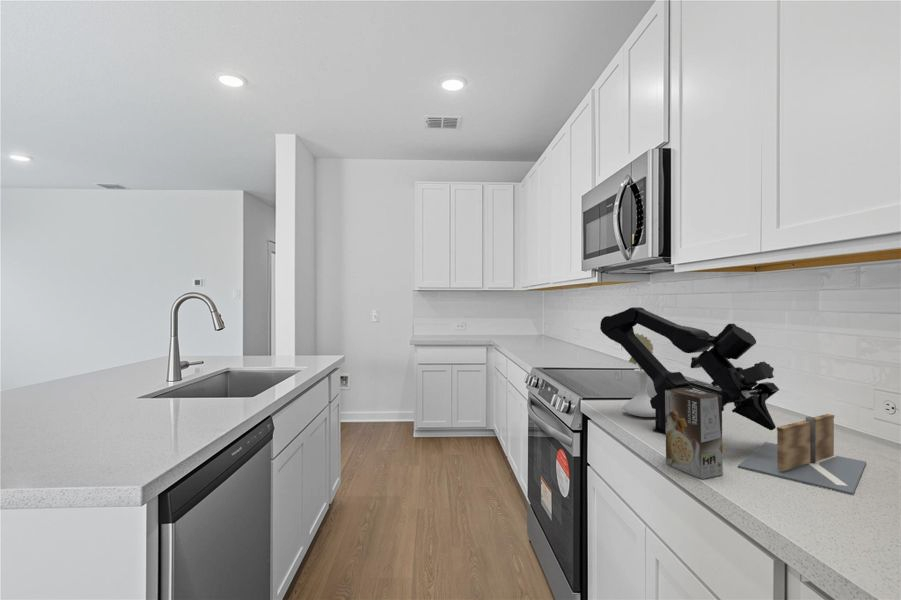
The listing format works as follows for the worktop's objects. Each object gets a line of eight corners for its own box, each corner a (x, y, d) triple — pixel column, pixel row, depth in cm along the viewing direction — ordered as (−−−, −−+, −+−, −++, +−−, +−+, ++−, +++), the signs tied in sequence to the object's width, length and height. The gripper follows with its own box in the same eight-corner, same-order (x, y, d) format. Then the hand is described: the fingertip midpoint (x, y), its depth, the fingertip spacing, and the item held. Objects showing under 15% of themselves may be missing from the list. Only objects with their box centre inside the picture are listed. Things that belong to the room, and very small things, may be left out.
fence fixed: (804, 463, 95) (804, 417, 95) (826, 456, 100) (826, 411, 100) (813, 466, 94) (813, 418, 94) (835, 458, 98) (835, 413, 98)
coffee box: (724, 475, 89) (724, 395, 89) (701, 480, 87) (701, 398, 87) (685, 460, 97) (685, 387, 97) (663, 463, 95) (663, 389, 95)
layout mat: (737, 467, 93) (737, 465, 93) (765, 443, 108) (765, 441, 108) (853, 495, 80) (853, 492, 80) (866, 463, 95) (866, 461, 95)
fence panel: (804, 460, 95) (804, 420, 95) (811, 462, 94) (810, 421, 94) (776, 469, 90) (776, 427, 90) (783, 471, 89) (783, 428, 89)
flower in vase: (671, 419, 130) (670, 335, 130) (633, 420, 129) (633, 335, 129) (648, 409, 143) (648, 331, 143) (614, 409, 142) (613, 332, 142)
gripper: (722, 352, 97) (779, 413, 87) (769, 348, 106) (826, 403, 96) (688, 382, 104) (738, 442, 94) (735, 376, 113) (785, 430, 103)
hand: (773, 429), depth 97 cm, fingers closed
